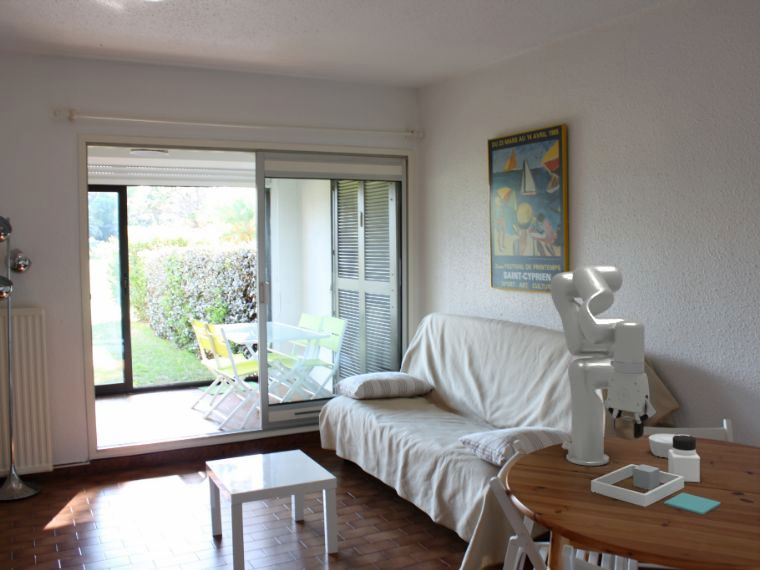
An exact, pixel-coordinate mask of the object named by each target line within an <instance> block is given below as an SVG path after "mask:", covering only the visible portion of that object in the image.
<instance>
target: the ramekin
mask: <svg viewBox="0 0 760 570" xmlns="http://www.w3.org/2000/svg"><path fill="white" fill-rule="evenodd" d="M676 435H677V434H674V433H655V434H652V435H649V436H648V441H649V445H650V450H651V451H650V452H651V453H652V454H653V456H655V457H658V456H659V458H662V457H665V458H664V459H668V451H669V449H671V450H673V437H674V436H676Z"/></svg>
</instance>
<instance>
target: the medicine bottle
mask: <svg viewBox="0 0 760 570" xmlns="http://www.w3.org/2000/svg"><path fill="white" fill-rule="evenodd" d="M675 435H676V436H674V437H673V450H671V449H669V451H668V458H667V460H668V463H667V464H668V465H667V467H668V468H667V469H668V470H667V473H670V474H675V475H679V476H683V477H684V483H685V482H686V483H687V482H688V483H700V482H701V457H700V455H699V454H698V453H697V450H696V449H697V447H696V445H697V444H696V443H697V440H696V438H695V437H693V436H692V435H688V434H675Z"/></svg>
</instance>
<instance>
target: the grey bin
mask: <svg viewBox="0 0 760 570" xmlns="http://www.w3.org/2000/svg"><path fill="white" fill-rule="evenodd" d="M637 466H638V465H636V464H633V463H632V464H631V463H630V464H628V465H626V466H623V467H621V468H619V469H618V468H617V470H614V471H612V472H608V473H606V474H604V475H602V476H599V477H596V478H595V479H592V480H590V492H591V491H592V493H594V492H596V494H598V493H599V494H598V495H601V494H602V496H605V497H609V498H613V499H616V500H619V501H623V502H627V503H629V504H634V505H637V506H641V507H644V508H646V507H648V506H650V505H652V504H654V503H656V502H658V501H660V500H662V499H664V498H667V497H668V496H670V495H672V494H674V493H676V492H678V491H680V490H682V489H684V488H685V482H684V477H683V476H679V475H675V474H670V473H668V472H666V471H663V470H660V482H659V484H660V483H661V485H659V486H658V487H656V488H654V489H652V490H648V491H647V492H645V493H643V492H638V491H636V490H632V489H631V490H630V489H628V488H624V487H620V486H616V485H613V484H616V483H618V482H619V483H620V482H621V481H622V480H626V479H627V478H630V477H633V468H635V467H637Z"/></svg>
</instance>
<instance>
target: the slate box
mask: <svg viewBox="0 0 760 570" xmlns="http://www.w3.org/2000/svg"><path fill="white" fill-rule="evenodd" d="M660 471H661V469H660V468H659V467H655V466H651V465H648V464H643V463H642V464H640V465H637V467H635V468H633V476H632V485H633V487H636V486H637V488H639V489H644V490H647V489H648V491H651V490H653V489H655V488H657V487H659V486H660Z"/></svg>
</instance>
